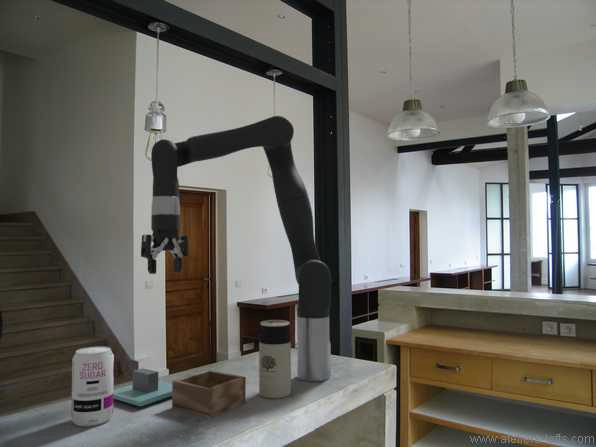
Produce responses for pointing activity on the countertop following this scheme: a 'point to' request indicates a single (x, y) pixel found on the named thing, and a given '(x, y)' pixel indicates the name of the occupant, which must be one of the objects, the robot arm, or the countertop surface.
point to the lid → (143, 389)
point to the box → (208, 393)
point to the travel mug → (274, 359)
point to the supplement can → (92, 386)
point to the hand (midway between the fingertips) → (165, 272)
